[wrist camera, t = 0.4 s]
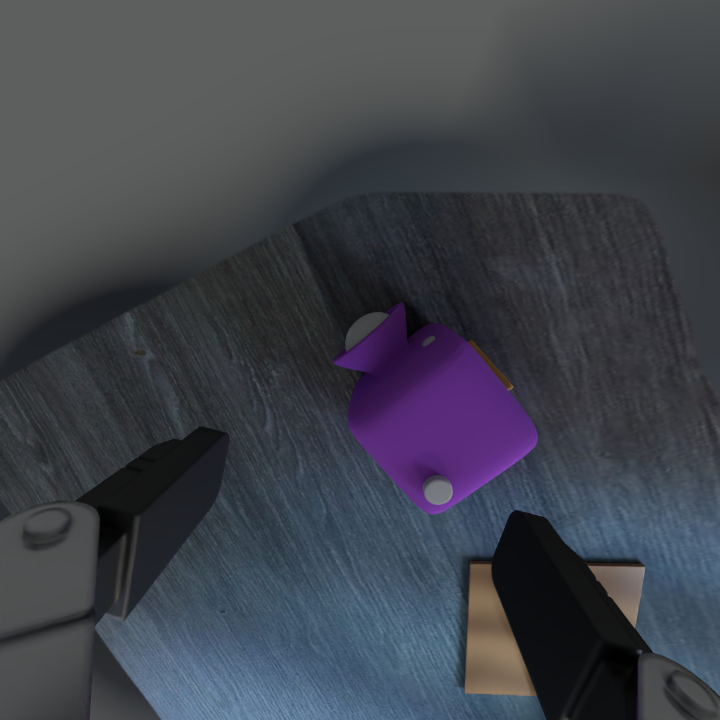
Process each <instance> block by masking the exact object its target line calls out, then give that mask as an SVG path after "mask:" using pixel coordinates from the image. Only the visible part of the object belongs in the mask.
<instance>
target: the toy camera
mask: <svg viewBox="0 0 720 720" xmlns="http://www.w3.org/2000/svg"><path fill="white" fill-rule="evenodd" d="M333 363H334V364H335V365H338V366H341V367H344V368H348V369H353V370H357V371H362V372H366V373H365V374H364V375H363V376H362V377H361V378H360V379H359V380H358V382H357V383H356V385H355V387H354V390H353V393H352V396H351V400H350V405H349V410H348V426H349V428H350V430H351V432H352V434H353V435H354V437H355V438H356V439H357V440H358V442H359V443H360V444H361V445H362V446H363V447H364V449H365V450H366V451H367V452H368V453H369V454H370V455H371V456H372V457H373V458H374V460H375V461H376V462H377V463H378V464H379V465H380V466H381V467H382V468H383V470H384V471H385V472H386V473H387V474H388V475H389V476H390V477H391V478H392V480H393V481H394V482H395V483H396V484H397V485H398V486H399V487H400V488H401V489H402V490H403V492H404V493H405V494H406V495H407V496H408V497H409V498H410V499H411V500H412V501H413V502H414V503H415V504H416V505H417V506H418V507H419V508H421V509H422V510H423V511H425V512H427V513H429V514H437V513H440V512H443V511H445V510H446V509H448V508H450V507H452V506H453V505H455V504H456V503H458V502H459V501H461V500H462V499H464V498H465V497H467V496H468V495H469V494H471V493H472V492H474V491H475V490H477V489H478V488H480V487H481V486H483V485H484V484H485V483H487V482H488V481H490V480H491V479H493V478H494V477H496V476H497V475H498V474H500V473H501V472H503V471H504V470H506V469H507V468H509V467H510V466H512V465H513V464H514V463H516V462H517V461H518V460H520V459H521V458H523V457H524V456H525V455H526V454H528V453H529V452H530V451H531V450H532V449H533V448H534V447H535V445H536V443H537V441H538V435H537V431H536V428H535V426H534V424H533V423H532V421H531V419H530V418H529V416H528V415H527V414H526V412H525V411H524V410H523V408H522V407H521V406H520V405H519V403H518V402H517V401H516V399H515V398H514V397H513V396H512V394H511V393H510V392H509V390H511V389H512V388H513V385H512V384H511V383H510V382H509V381H508V380H507V379H506V377H505V376H504V375H503V374H502V373H501V372H500V371H499V370H498V369H497V367H496V366H495V365H494V364H493V363H492V362H491V361H490V360H489V359H488V357H487V356H486V355H485V354H484V353H483V352H482V351H481V350H480V349H479V347H478V346H477V345H476V344H475V343H474V342H473V341H472V340H470V341H468V342H467V341H466V340H465V339H464V338H463V337H461V336H460V335H458V334H457V333H455V332H454V331H452V330H451V329H449V328H447V327H445V326H444V325H441V324H438V323H431V324H428V325H426V326H424V327H422V328H421V329H419V330H418V331H417V332H415V333H414V334H413V335H411V336H410V337H409V338H408V339H407V328H406V313H405V307H404V304H403V303H398V304H396V305H395V306H393V307H392V308H390V309H389V310H388V311H386V312H385V313H382V312H373V313H369V314H367V315H364V316H362V317H361V318H359V319H358V320H357V321H356V322H355V323H354V324H353V325H352V326H351V328H350V329H349V331H348V333H347V335H346V340H345V347H344V348H343V349H342V350H341V351H340V353H339V354H338V355H337V356H336V357H335V358H334V360H333Z"/></svg>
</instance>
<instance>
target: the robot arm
mask: <svg viewBox="0 0 720 720" xmlns="http://www.w3.org/2000/svg"><path fill="white" fill-rule="evenodd" d="M228 445H229V434H228V433H225V432H221V431H217V430H214V429H210V428H206V427H202V426H201V427H199V428H197V429H196V430H195V431H193V432H192V433H191V434H190V435H188V436H187V437H186V438H184V439H183V440H182V441H181V440H177V439H172V440H169V441H166V442H163V443H160V444H157V445H154V446H153V447H152V448H150V449H149V450H147V451H146V452H144V453H143V454H142V455H140V456H139V458H138V459H137V458H136V459H134V460H133V461H132V462H130V463H129V464H127V465H126V467H125V468H122V469H120V470H119V471H117V472H116V473H114V474H113V475H112V476H110V477H109V478H107V479H106V480H104V481H103V482H102V483H100V484H99V485H97V486H96V487H94V488H93V489H92V490H90V491H89V492H87V493H86V494H84V495H83V496H82V497H80V498H79V499H77V500H76V501H54V502H48V503H42V504H38V505H34V506H31V507H28V508H25V509H23V510H20V511H18V512H16V513H14V514H12V515H10V516H9V517H7V518H5V519H4V520H2V521H1V522H0V720H89V718H90V699H91V684H92V668H93V651H94V634H95V626H96V624H97V623H98V622H99V621H100V620H101V618H102V617H103V616H105V617H109V618H112V619H116V620H120V621H125V619H126V618H127V617H128V615H129V614H130V613H131V611H132V610H133V609H134V607H135V606H136V605H137V604H138V602H139V601H140V600H141V598H142V597H143V596H144V594H145V593H146V592H147V590H148V589H149V588H150V587H151V585H152V584H153V583H154V581H155V580H156V579H157V577H158V576H159V575H160V574H161V572H162V571H163V570H164V568H165V567H166V566H167V564H168V563H169V562H170V560H171V559H172V558H173V557H174V555H175V554H176V553H177V551H178V550H179V549H180V547H181V546H182V545H183V543H184V542H185V541H186V540H187V538H188V537H189V536H190V534H191V533H192V532H193V530H194V529H195V528H196V526H197V525H198V524H199V523H200V521H201V520H202V519H203V517H204V516H205V515H206V513H207V512H208V511H209V509H210V508H211V507H212V505H213V503H214V502H215V500H216V497H217V495H218V492H219V490H220V486H221V482H222V477H223V472H224V466H225V461H226V456H227V451H228ZM491 573H492V580H493V584H494V586H495V589H496V591H497V594H498V597H499V599H500V602H501V604H502V607H503V609H504V612H505V615H506V617H507V620H508V622H509V625H510V627H511V630H512V633H513V635H514V638H515V640H516V643H517V645H518V648H519V650H520V653H521V656H522V658H523V661H524V663H525V666H526V668H527V671H528V674H529V676H530V679H531V681H532V684H533V686H534V689H535V692H536V694H537V697H538V699H539V702H540V704H541V707H542V710H543V712H544V715H545V717H546V720H720V696H719V695H718V694H717V693H716V692H715V691H714V690H712V689H711V688H710V687H709V686H708V685H707V684H706V683H705V682H703V681H702V680H701V679H700V678H698V677H697V676H696V675H695V674H693V673H692V672H690V671H689V670H688V669H686V668H685V667H683V666H681V665H680V664H678V663H677V662H675V661H673V660H671V659H669V658H667V657H664V656H662V655H659V654H655V653H653V652H652V651H651V649H650V648H649V647H648V645H647V644H646V643H645V641H644V640H643V639H642V637H641V636H640V635H639V633H638V632H637V631H636V629H635V628H634V627H633V625H632V624H631V623H630V621H629V620H628V619H627V617H626V616H625V615H624V613H623V612H622V611H621V609H620V608H619V607H618V605H617V604H616V603H615V601H614V600H613V599H612V597H609V596H608V592H607V591H606V590H605V588H604V587H603V586H602V584H601V583H600V582H599V581H597V580H596V576H595V575H594V574H593V572H592V571H591V570H590V568H589V567H588V566H587V564H586V563H585V562H584V560H583V559H582V558H581V557H580V556H578V555H577V554H576V553H575V552H574V551H573V550H572V549H571V548H570V547H568V546H567V545H566V544H565V543H564V542H563V540H562V539H561V538H560V536H559V535H558V534H557V532H556V531H555V529H554V528H553V527H552V525H551V524H550V523H549V521H548V520H547V519H546V518H544V517H541V516H537V515H534V514H530V513H526V512H522V511H518V510H515V511H513V512H512V513H511V514H510V516H509V518H508V521H507V523H506V526H505V528H504V531H503V533H502V536H501V538H500V541H499V543H498V546H497V548H496V551H495V553H494V556H493V559H492V566H491Z"/></svg>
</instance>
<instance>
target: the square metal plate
mask: <svg viewBox="0 0 720 720" xmlns="http://www.w3.org/2000/svg"><path fill="white" fill-rule="evenodd" d="M586 564H587V566H588V567H589V568H590V570H591V571H592V572H593V574H594V575H595V576H596V580H597V581H599V582H600V583H601V584H602V586H603V587H604V588H605V590H606V591H607V592H608V596H609V597H612V599H613V600H614V601H615V603H616V604H617V605H618V607H619V608H620V609H621V611H622V612H623V613H624V615H625V616H626V617H627V619H628V620H629V621H630V623H631V624H632V625H633V627H634V628H635V626H636V620H637V614H638V608H639V602H640V596H641V591H642V585H643V579H644V573H645V566H644V565H643V564H633V563H586ZM491 566H492V561H470V567H469V590H468V613H467V635H466V658H465V681H464V691H465V693H472V694H499V695H526V696H537V694H536V692H535V689H534V686H533V684H532V681H531V679H530V676H529V674H528V671H527V668H526V666H525V663H524V661H523V658H522V656H521V653H520V650H519V648H518V645H517V643H516V640H515V638H514V635H513V633H512V630H511V627H510V625H509V622H508V620H507V617H506V615H505V612H504V609H503V607H502V604H501V602H500V599H499V597H498V594H497V591H496V589H495V586H494V584H493V580H492V573H491Z"/></svg>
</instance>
